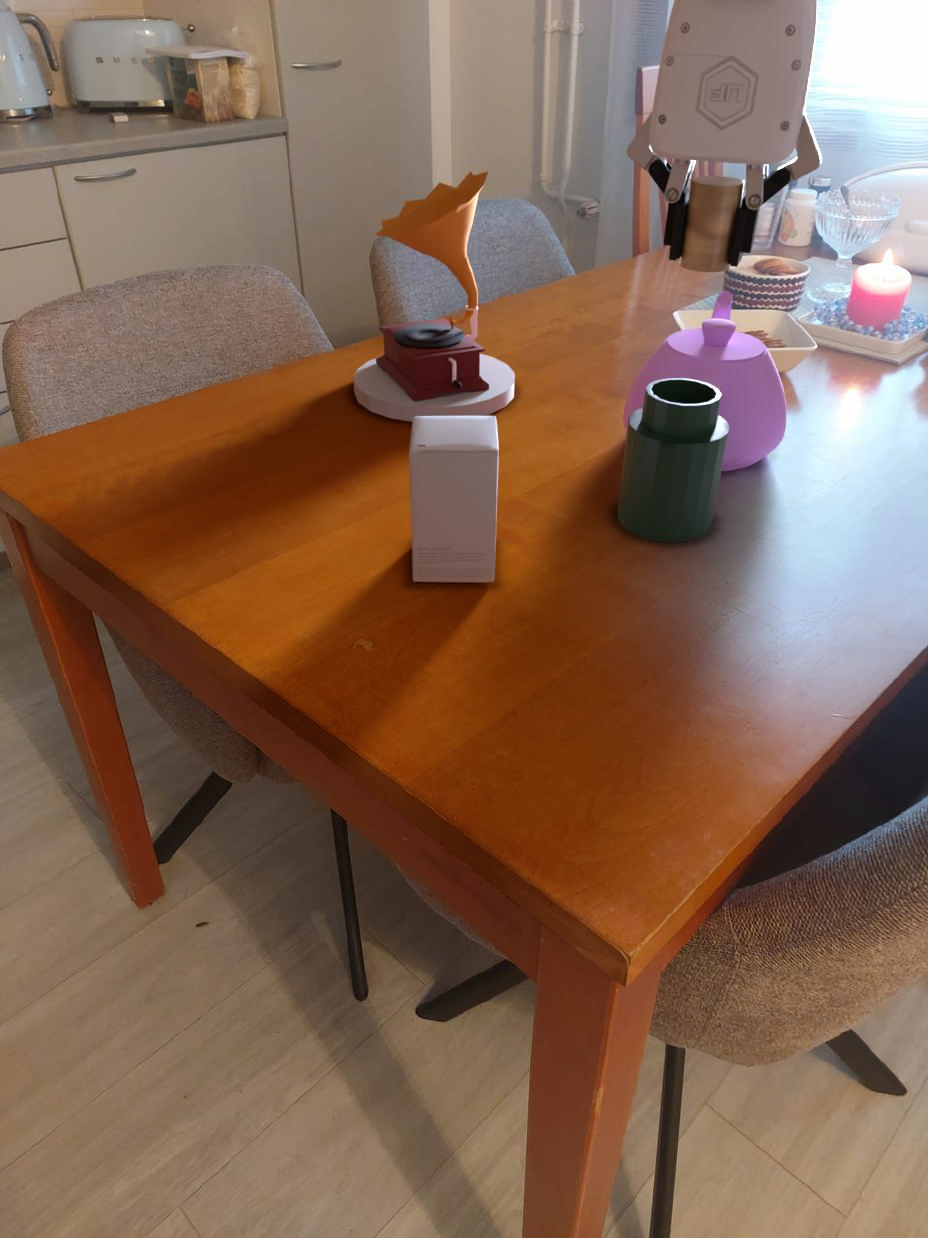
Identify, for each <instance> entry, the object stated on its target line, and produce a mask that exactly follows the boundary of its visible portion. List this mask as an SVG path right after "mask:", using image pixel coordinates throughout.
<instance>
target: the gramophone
mask: <svg viewBox="0 0 928 1238" xmlns="http://www.w3.org/2000/svg"><path fill="white" fill-rule="evenodd" d="M488 174H489V171H485V172H480V173H478V174H473V172H472V170H471V171H469V172H468V174H467V175H466V176H465V177H464V178H463V179H462V181H461V182H460V183H458V185H457V186H456V187H455V186H452V185H449V184H445V183H442V182H438V184H437V185H436V186H435V187H434V188H433V189H432V190H431V191H430V192H429V194H428V195H427V196H426V197H425V198H422V199H412V200H406V201H405V203H403V204H404V205H403V206H402V208H401V211H400V212H399V214H398V216H396V217H395V216H394V217H391V218H388V219H384V220H381V226H382V229H380V230H379V231H377V232H376V233H375V234H374V236H380V237H385V238H389V239H391V240H394V241H395V242H398V243H399V244H401V245H404V246H406V247H408V248H409V249H411V250H414V251H416V252H419V253H420V254H423V255H426V256H429V257H431V258H433V259H434V260H437V261H439V262H440V263H442V264H443V265H445V267H447V269H448V270H449V271H450V272H451V273H452V275H453V276H454V277H455V278H456V280H457V281H458V283H459V284H460V286H461V288H462V289H463V290H464V292H465V293H466V295H467V305H465V306H464V309H465V313H464V316H463V317H462V318H460V319H457V320H455V319H454V316H453V315H450V317H449V321H448V320H447V319H446V318H437V319H428V320H421V321H413V322H405V323H396V324H390V325H389V324H388V325H382V326H381V325H380V326H378V330H379V331H381V332H382V334H383V354H382V355H381V356H378V357H376V358H373V359H370V360H368V361H366V362H365V363H364V364H363V365H361V366H360V367H358V368H357V369H356V371H355V374H354V376H353V378H352V379H353V392H354V393H353V394H354V395H355V398H356V400H357V403H358V404H360V405H361V406H362V407H364V408H365V409H366V410H368V411H369V412H372V413H373V414H377V415H380V416H382V417H385V418H387V419H393V420H398V421H405V422H411V423H413V417H414V416H490V415H492V414H493V413H495V412H497V411H500V410H501V409H504V408H505V407H507V405H509V403H510V402H511V401H512V400H513V399H514V397H515V379H516V378H515V375H516V373H515V372H514V370H513V369H512V368H511V367H510V366H509V364H508V363H505V362H504V361H501V360H499V358H496V357H494V356H490V355H487V354H484V353H482V352H485V351H486V350H485V348H484V347H483V346H482V345H481V344H479V343H477V342H476V338H477V336H478V328H479V327H478V315H479V314H478V313H479V306H478V302H479V292H478V287H477V282H476V279H475V276H474V275H475V274H474V272H473V269H472V266H471V263H470V261H469V257H468V254H467V253H468V242H469V236H470V233H471V229H472V226H473V224H474V218H475V214H476V208H477V204H478V200H479V196H480V195H479V194H480V192H481V191H482V189H483V188H484V186H485V182H486V179H487V178H488ZM468 321H469V324H470V325H469V326H470V332H471V333H470V334H466V333H465V332H464V331H463V330H462V329H460V328H458V327H456V326H455V324H465V323H466V322H468Z"/></svg>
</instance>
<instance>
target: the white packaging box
mask: <svg viewBox="0 0 928 1238" xmlns="http://www.w3.org/2000/svg"><path fill="white" fill-rule="evenodd" d="M410 432H411V433H410V442H409V450H408V461H409V491H410V492H409V493H410V499H409V500H410V523H411V524H410V527H411V560H412V561H411V563H412V581H413V582H415V583H417V582H418V583H482V584H483V583H485V584H486V583H494V582H495V576H496V574H495V573H496V550H497V549H496V547H497V546H496V545H497V519H498V518H497V515H498V514H497V513H498V489H499V487H498V486H499V459H500V458H499V451H500V450H499V434H498V422H497V417H496V415H486V416H414V417H413V422H412V425H411V431H410Z"/></svg>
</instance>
